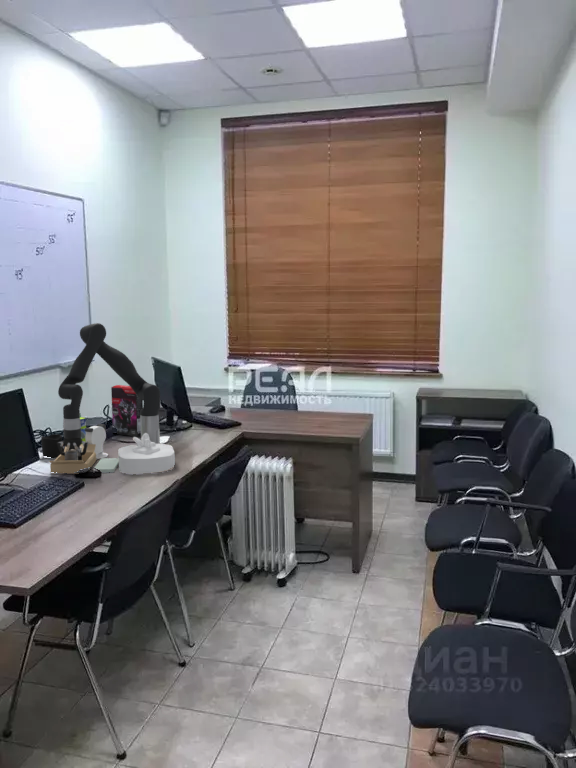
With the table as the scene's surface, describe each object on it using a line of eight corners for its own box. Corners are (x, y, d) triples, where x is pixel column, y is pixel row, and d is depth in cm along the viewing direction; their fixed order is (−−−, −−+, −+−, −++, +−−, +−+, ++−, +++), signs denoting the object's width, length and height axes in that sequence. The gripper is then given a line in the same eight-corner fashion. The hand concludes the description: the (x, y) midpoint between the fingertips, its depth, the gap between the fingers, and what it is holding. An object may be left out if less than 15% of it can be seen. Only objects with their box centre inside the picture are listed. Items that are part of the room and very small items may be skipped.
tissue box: (119, 476, 277) (118, 440, 275) (118, 460, 301) (117, 428, 298) (176, 472, 284) (176, 437, 282) (170, 457, 308) (170, 425, 305)
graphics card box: (111, 434, 352) (110, 386, 348) (119, 431, 358) (117, 384, 354) (137, 437, 346) (135, 388, 341) (144, 434, 352) (143, 386, 348)
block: (82, 463, 296) (82, 446, 294) (75, 471, 283) (75, 454, 281) (72, 463, 295) (72, 446, 294) (65, 471, 282) (64, 454, 281)
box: (71, 451, 316) (70, 417, 314) (65, 450, 318) (64, 416, 316) (87, 446, 325) (86, 413, 323) (82, 445, 327) (80, 412, 325)
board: (120, 461, 299) (120, 458, 299) (113, 472, 282) (113, 469, 282) (101, 461, 299) (101, 458, 298) (93, 472, 281) (93, 469, 281)
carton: (98, 458, 303) (98, 444, 302) (84, 476, 276) (84, 460, 275) (64, 458, 302) (63, 444, 301) (47, 476, 274) (46, 460, 273)
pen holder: (60, 458, 303) (59, 438, 301) (40, 459, 301) (39, 439, 300) (64, 453, 312) (63, 433, 310) (44, 454, 310) (43, 434, 309)
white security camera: (94, 451, 316) (93, 422, 313) (113, 454, 312) (112, 424, 309) (79, 457, 305) (77, 427, 302) (98, 460, 301) (97, 429, 298)
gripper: (90, 425, 290) (91, 461, 292) (58, 425, 289) (60, 461, 291) (86, 429, 282) (87, 466, 285) (53, 429, 281) (55, 466, 284)
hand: (73, 463), depth 288 cm, fingers closed on block, 4 cm apart
